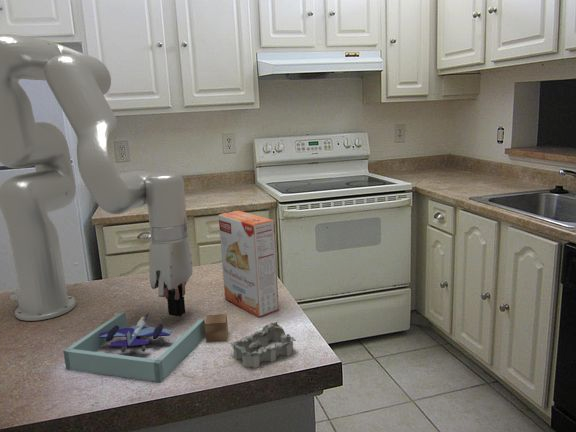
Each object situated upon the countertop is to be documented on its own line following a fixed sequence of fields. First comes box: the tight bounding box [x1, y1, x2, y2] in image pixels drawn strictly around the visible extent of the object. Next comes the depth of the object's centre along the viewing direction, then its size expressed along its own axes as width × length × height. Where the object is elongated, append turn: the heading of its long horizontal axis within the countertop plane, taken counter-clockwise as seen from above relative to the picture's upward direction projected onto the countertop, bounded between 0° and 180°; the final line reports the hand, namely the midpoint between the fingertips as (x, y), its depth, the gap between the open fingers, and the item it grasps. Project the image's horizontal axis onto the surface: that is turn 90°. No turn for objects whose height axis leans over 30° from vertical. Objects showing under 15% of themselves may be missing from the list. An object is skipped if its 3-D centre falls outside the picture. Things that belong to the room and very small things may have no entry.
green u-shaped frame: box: [63, 310, 206, 383], centre depth 90 cm, size 19×17×4 cm
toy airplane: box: [99, 311, 173, 353], centre depth 94 cm, size 13×14×4 cm
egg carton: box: [229, 321, 297, 369], centre depth 88 cm, size 11×8×4 cm
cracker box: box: [218, 210, 280, 318], centre depth 108 cm, size 14×6×21 cm, turn 39°
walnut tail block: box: [204, 313, 229, 344], centre depth 95 cm, size 4×4×4 cm
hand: (177, 314), depth 104 cm, fingers closed
